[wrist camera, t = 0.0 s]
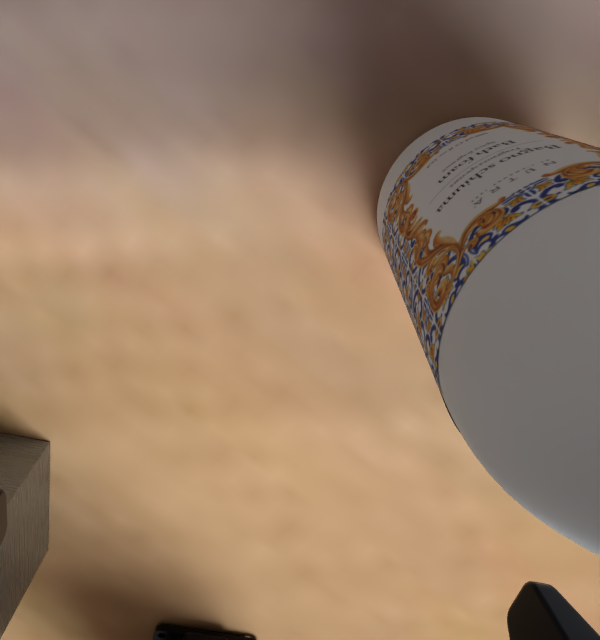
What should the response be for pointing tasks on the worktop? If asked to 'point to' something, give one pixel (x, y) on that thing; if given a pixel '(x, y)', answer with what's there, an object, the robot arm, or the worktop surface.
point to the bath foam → (508, 302)
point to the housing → (22, 517)
